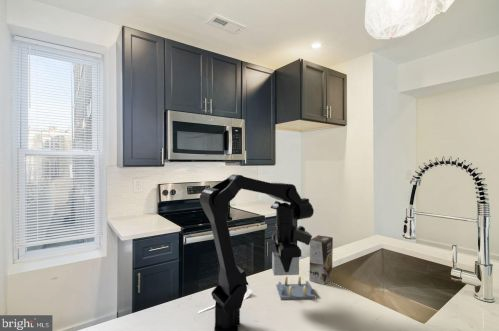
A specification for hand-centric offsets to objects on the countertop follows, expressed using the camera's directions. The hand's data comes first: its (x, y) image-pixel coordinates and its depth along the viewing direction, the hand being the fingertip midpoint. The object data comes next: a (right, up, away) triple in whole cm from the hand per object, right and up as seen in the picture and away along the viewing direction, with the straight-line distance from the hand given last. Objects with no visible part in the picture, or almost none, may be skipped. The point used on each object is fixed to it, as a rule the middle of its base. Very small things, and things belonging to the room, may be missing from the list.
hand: (285, 268), depth 83 cm
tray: (+5, -11, +7) cm, 14 cm away
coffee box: (+17, -11, +18) cm, 27 cm away
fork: (-20, -12, 0) cm, 23 cm away
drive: (0, -1, 0) cm, 1 cm away
